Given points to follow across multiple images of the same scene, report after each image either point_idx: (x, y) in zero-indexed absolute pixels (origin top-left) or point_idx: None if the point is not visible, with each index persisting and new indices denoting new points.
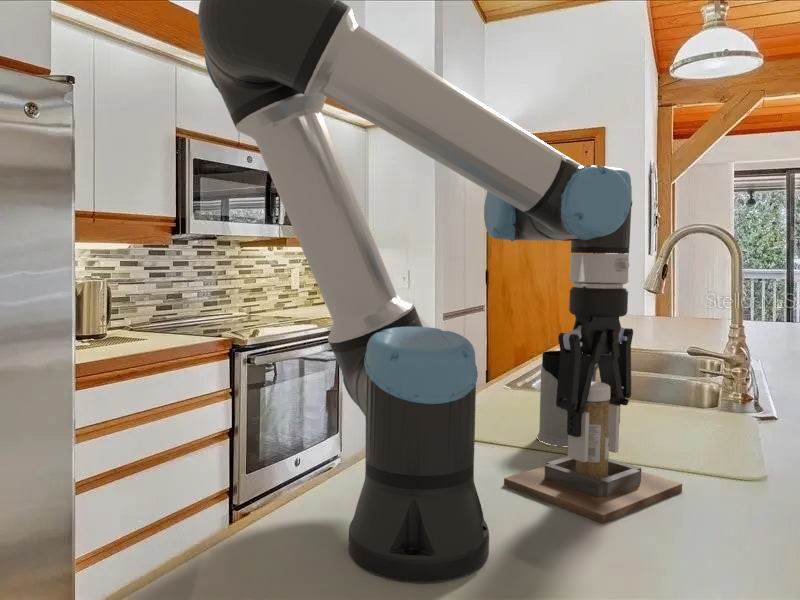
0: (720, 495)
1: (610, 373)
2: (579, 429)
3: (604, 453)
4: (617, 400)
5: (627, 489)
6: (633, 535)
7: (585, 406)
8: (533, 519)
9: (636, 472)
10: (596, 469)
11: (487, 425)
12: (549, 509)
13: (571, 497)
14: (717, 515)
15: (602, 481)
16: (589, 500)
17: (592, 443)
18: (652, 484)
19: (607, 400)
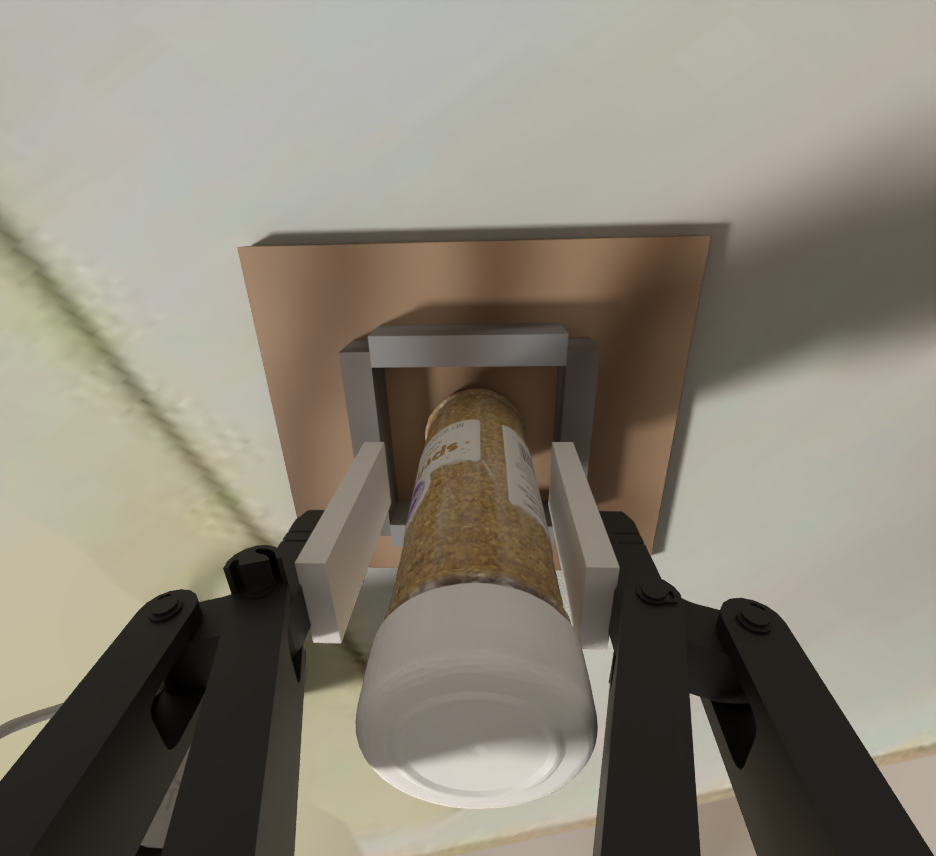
0: (158, 134)
1: (272, 807)
2: (609, 531)
3: (483, 430)
4: (287, 596)
5: (449, 325)
6: (722, 110)
7: (624, 603)
8: (807, 376)
9: (393, 335)
10: (508, 419)
11: (326, 791)
12: (709, 395)
13: (643, 386)
14: (330, 20)
15: (576, 349)
16: (626, 340)
17: (528, 474)
18: (337, 304)
19: (462, 584)
